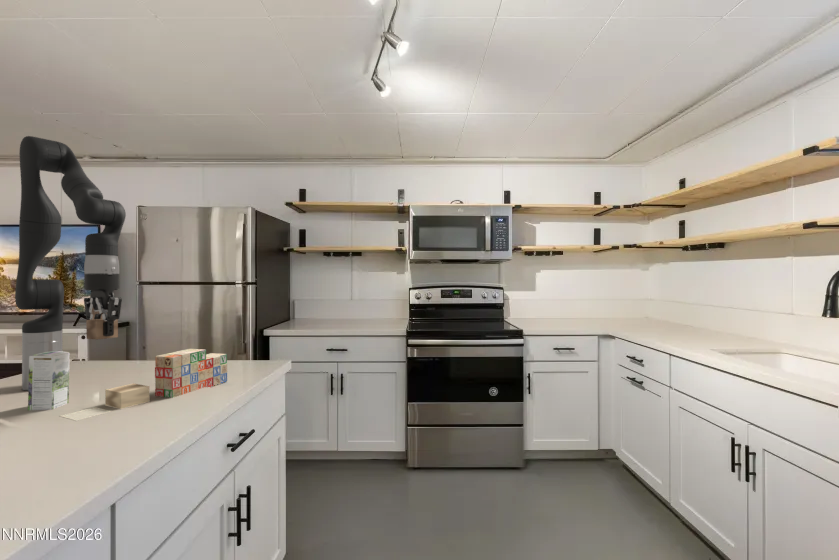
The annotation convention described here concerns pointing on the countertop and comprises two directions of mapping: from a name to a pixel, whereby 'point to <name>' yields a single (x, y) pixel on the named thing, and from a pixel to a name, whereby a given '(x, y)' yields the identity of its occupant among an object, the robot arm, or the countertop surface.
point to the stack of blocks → (188, 371)
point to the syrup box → (48, 380)
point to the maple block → (126, 395)
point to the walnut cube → (99, 329)
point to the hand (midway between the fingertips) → (102, 335)
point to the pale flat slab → (88, 413)
